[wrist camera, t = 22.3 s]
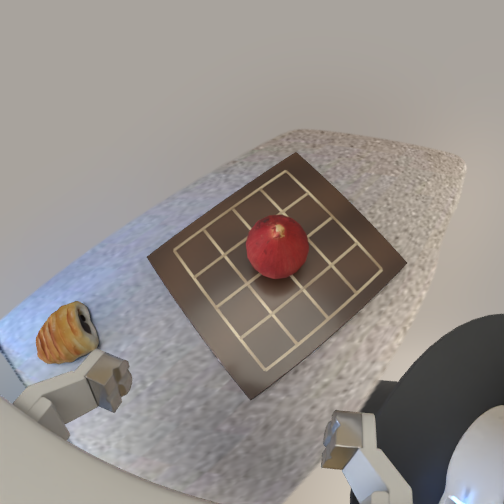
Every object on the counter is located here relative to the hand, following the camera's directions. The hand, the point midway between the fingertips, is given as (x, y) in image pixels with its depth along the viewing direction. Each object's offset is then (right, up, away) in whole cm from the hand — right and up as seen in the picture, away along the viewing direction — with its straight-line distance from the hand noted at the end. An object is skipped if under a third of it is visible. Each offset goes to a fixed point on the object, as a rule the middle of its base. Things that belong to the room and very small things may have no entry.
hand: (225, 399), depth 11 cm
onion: (+4, +5, +22) cm, 23 cm away
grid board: (+4, +4, +23) cm, 24 cm away
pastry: (-21, -5, +22) cm, 30 cm away
